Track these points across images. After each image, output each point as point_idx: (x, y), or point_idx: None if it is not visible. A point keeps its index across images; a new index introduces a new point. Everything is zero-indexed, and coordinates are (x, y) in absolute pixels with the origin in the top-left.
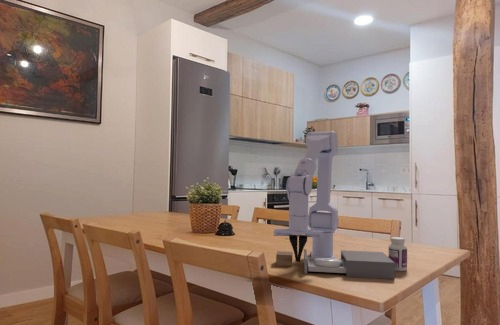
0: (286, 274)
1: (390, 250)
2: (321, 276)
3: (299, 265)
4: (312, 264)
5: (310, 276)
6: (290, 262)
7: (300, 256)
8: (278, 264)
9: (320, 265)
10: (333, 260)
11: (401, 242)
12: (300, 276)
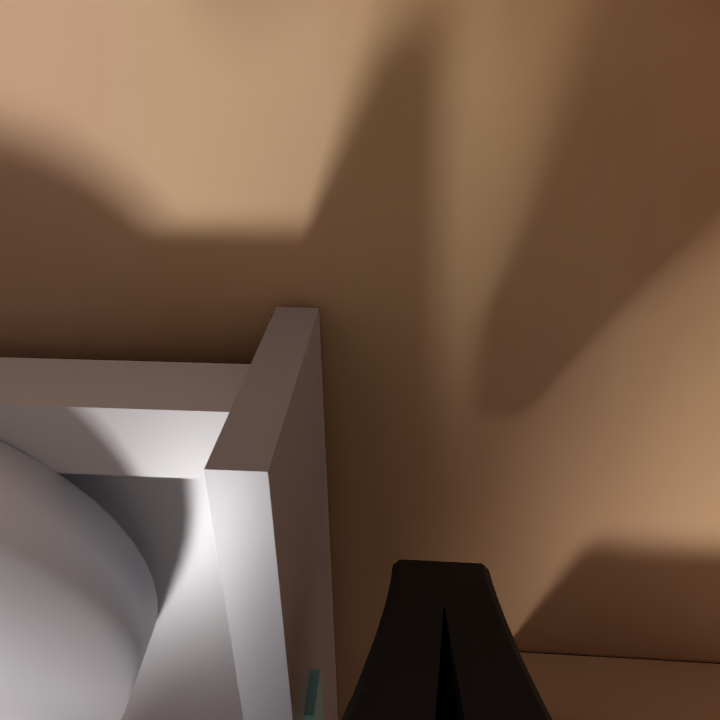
0: (662, 233)
1: None
2: (29, 221)
3: None
4: (202, 635)
5: (214, 183)
6: None
7: (384, 635)
8: (709, 679)
9: (5, 456)
10: None
11: None
12: (399, 145)
